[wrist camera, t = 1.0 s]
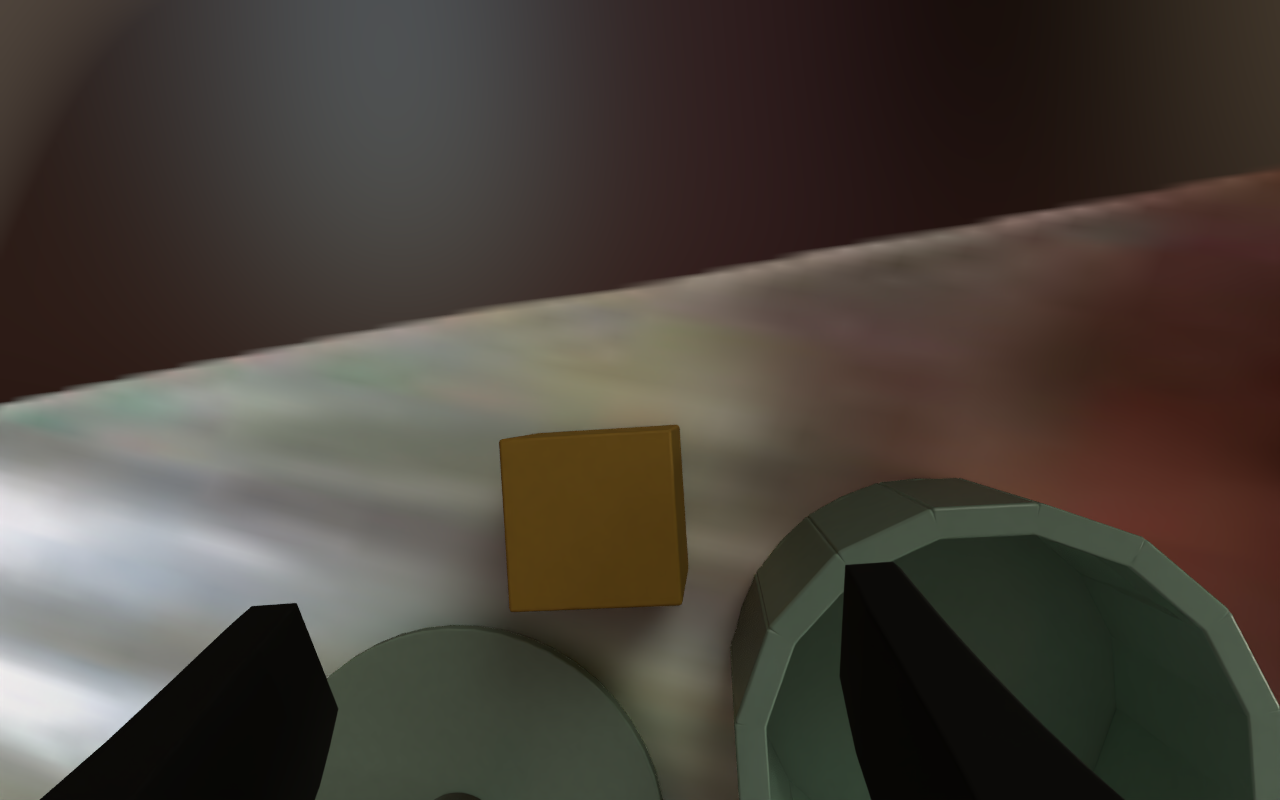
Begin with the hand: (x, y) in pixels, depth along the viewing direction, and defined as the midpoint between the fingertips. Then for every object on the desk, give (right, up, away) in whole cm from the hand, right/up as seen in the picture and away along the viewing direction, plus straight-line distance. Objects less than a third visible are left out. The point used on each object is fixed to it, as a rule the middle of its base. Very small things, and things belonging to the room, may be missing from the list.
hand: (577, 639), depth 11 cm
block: (0, 0, +14) cm, 14 cm away
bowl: (+9, -5, +13) cm, 17 cm away
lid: (-4, -10, +14) cm, 17 cm away
